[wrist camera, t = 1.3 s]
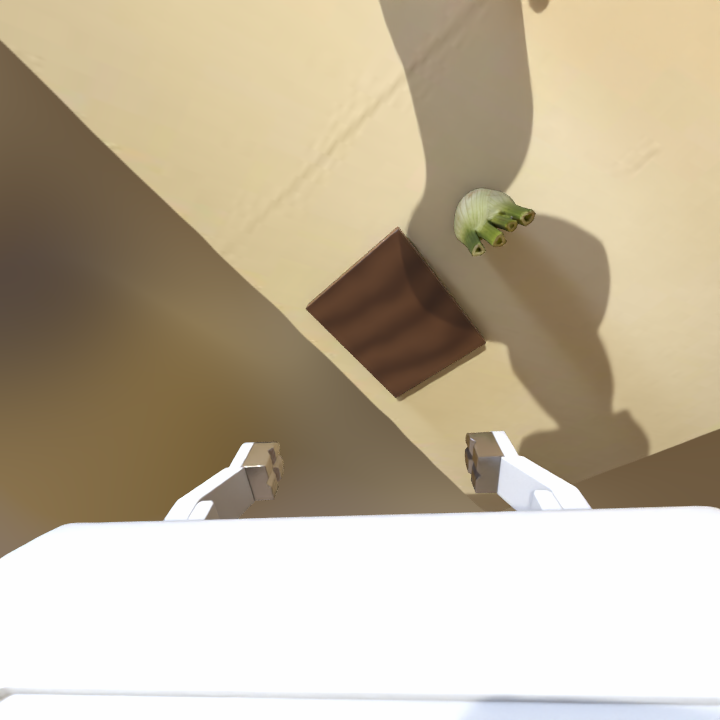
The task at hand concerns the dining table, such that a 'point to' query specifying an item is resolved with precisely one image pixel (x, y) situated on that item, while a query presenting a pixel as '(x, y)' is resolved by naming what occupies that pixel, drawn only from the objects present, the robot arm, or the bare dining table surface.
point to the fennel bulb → (487, 219)
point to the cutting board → (396, 316)
